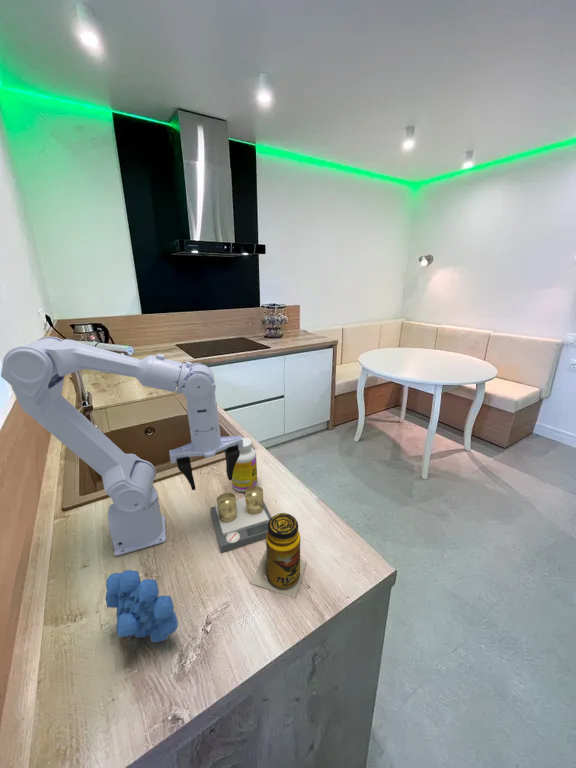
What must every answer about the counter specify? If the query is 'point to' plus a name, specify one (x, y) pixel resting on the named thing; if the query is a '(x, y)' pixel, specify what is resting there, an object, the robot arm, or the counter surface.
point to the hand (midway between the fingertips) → (211, 482)
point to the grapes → (140, 607)
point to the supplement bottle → (245, 467)
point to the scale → (240, 527)
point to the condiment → (281, 557)
